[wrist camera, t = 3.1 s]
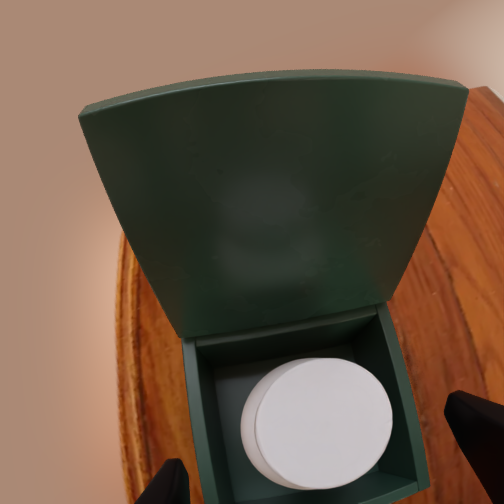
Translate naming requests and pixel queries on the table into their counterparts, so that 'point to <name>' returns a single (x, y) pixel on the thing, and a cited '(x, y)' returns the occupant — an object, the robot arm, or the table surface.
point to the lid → (274, 188)
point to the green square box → (267, 359)
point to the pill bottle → (316, 423)
